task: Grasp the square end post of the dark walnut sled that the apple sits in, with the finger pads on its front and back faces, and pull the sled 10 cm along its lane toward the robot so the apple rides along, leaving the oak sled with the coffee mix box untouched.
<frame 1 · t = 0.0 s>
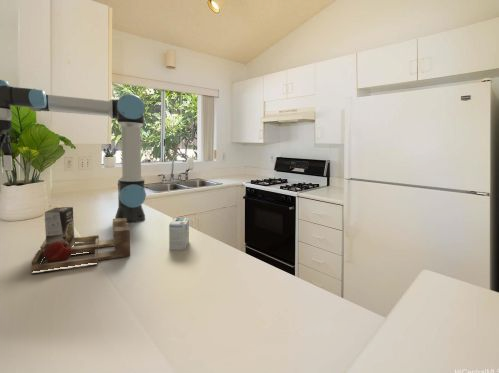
hand: (3, 171, 115), 28 cm above the worktop, fingers open, 13 cm apart
light bulb box: (179, 246, 117), on the worktop
coffee box: (61, 250, 107), resting in oak sled
walnut sled: (85, 245, 98), point 5 cm above the worktop, slide at 0.0 cm
oak sled: (87, 234, 110), point 5 cm above the worktop, slide at 0.0 cm
apple: (57, 264, 95), resting in walnut sled
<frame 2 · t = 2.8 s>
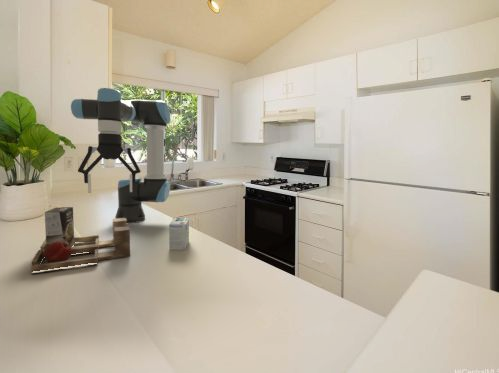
hand: (110, 192, 102), 24 cm above the worktop, fingers open, 13 cm apart
nothing on the worktop moved.
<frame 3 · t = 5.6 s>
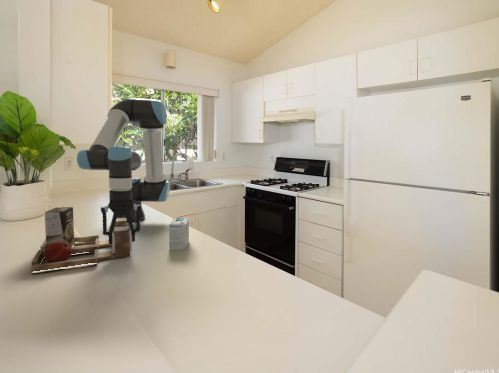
hand: (122, 250, 104), 2 cm above the worktop, fingers closed on walnut sled, 5 cm apart
walnut sled: (85, 245, 98), point 5 cm above the worktop, slide at 0.0 cm, touching gripper
everything else where it was.
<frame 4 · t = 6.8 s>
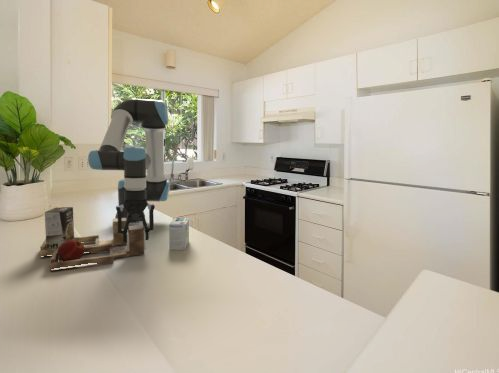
hand: (136, 249, 106), 2 cm above the worktop, fingers closed on walnut sled, 5 cm apart
walnut sled: (101, 244, 100), point 5 cm above the worktop, slide at 4.9 cm, touching gripper
apple: (71, 262, 96), resting in walnut sled
everything else where it was.
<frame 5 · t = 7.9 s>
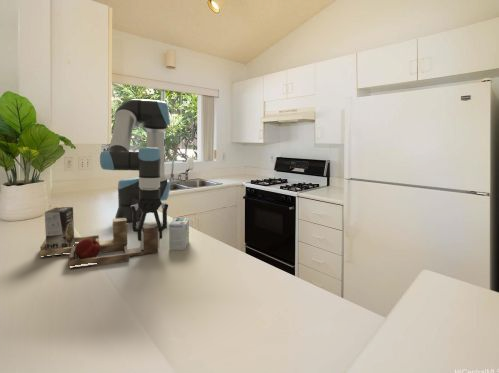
hand: (150, 247, 108), 2 cm above the worktop, fingers closed on walnut sled, 5 cm apart
walnut sled: (116, 242, 102), point 5 cm above the worktop, slide at 9.9 cm, touching apple, gripper
apple: (87, 260, 98), resting in walnut sled
everything else where it was.
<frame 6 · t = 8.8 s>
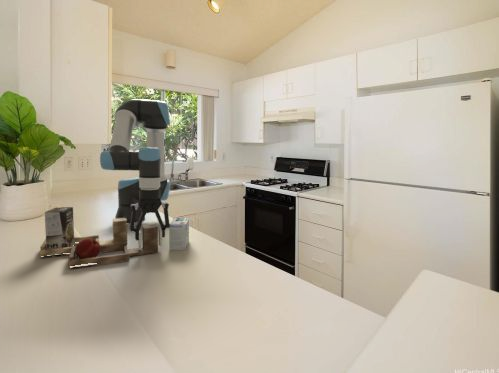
hand: (150, 246, 108), 2 cm above the worktop, fingers open, 7 cm apart
light bulb box: (179, 246, 117), on the worktop, touching gripper, hand
walnut sled: (116, 242, 102), point 5 cm above the worktop, slide at 9.9 cm
apple: (87, 260, 98), resting in walnut sled
everything else where it was.
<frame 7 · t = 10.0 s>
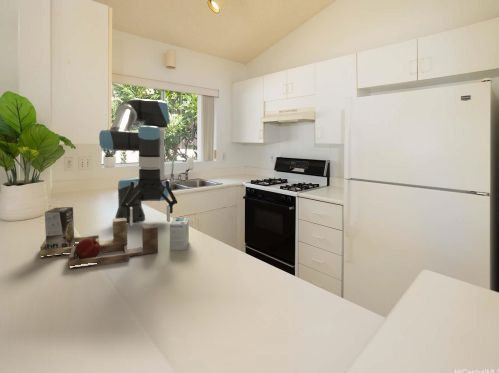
hand: (150, 223, 107), 11 cm above the worktop, fingers open, 13 cm apart
light bulb box: (179, 246, 117), on the worktop
everything else where it was.
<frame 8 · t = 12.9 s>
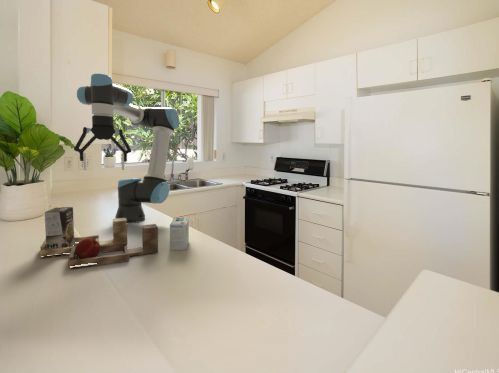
hand: (104, 169, 112), 31 cm above the worktop, fingers open, 13 cm apart
nothing on the worktop moved.
at the end: walnut sled slide at 9.9 cm; apple inside the target area (4.2 cm from its centre), resting in walnut sled; oak sled slide at 0.0 cm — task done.
